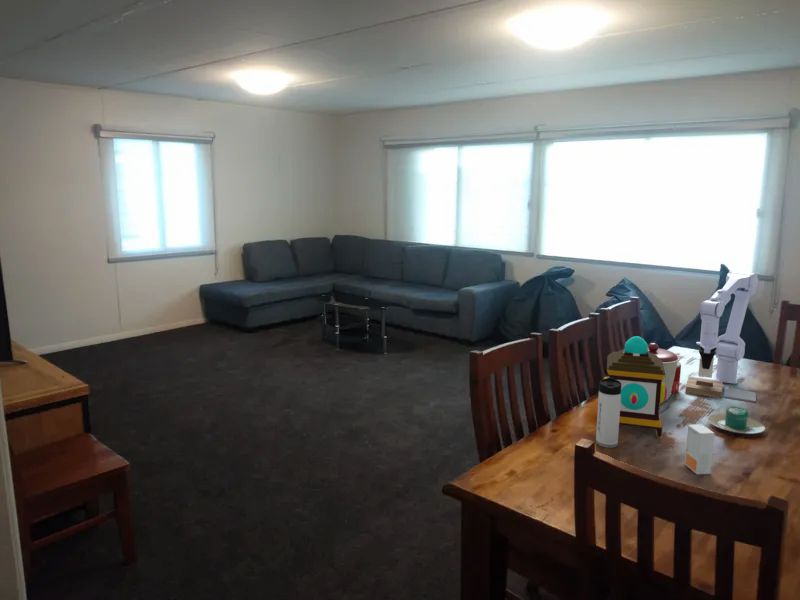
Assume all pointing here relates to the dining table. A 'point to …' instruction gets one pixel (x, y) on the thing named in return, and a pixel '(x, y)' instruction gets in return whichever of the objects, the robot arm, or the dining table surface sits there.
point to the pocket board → (704, 387)
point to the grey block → (705, 371)
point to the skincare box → (699, 449)
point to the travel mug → (608, 413)
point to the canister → (666, 365)
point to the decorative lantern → (638, 384)
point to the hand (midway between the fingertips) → (706, 366)
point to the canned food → (676, 379)
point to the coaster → (740, 395)
